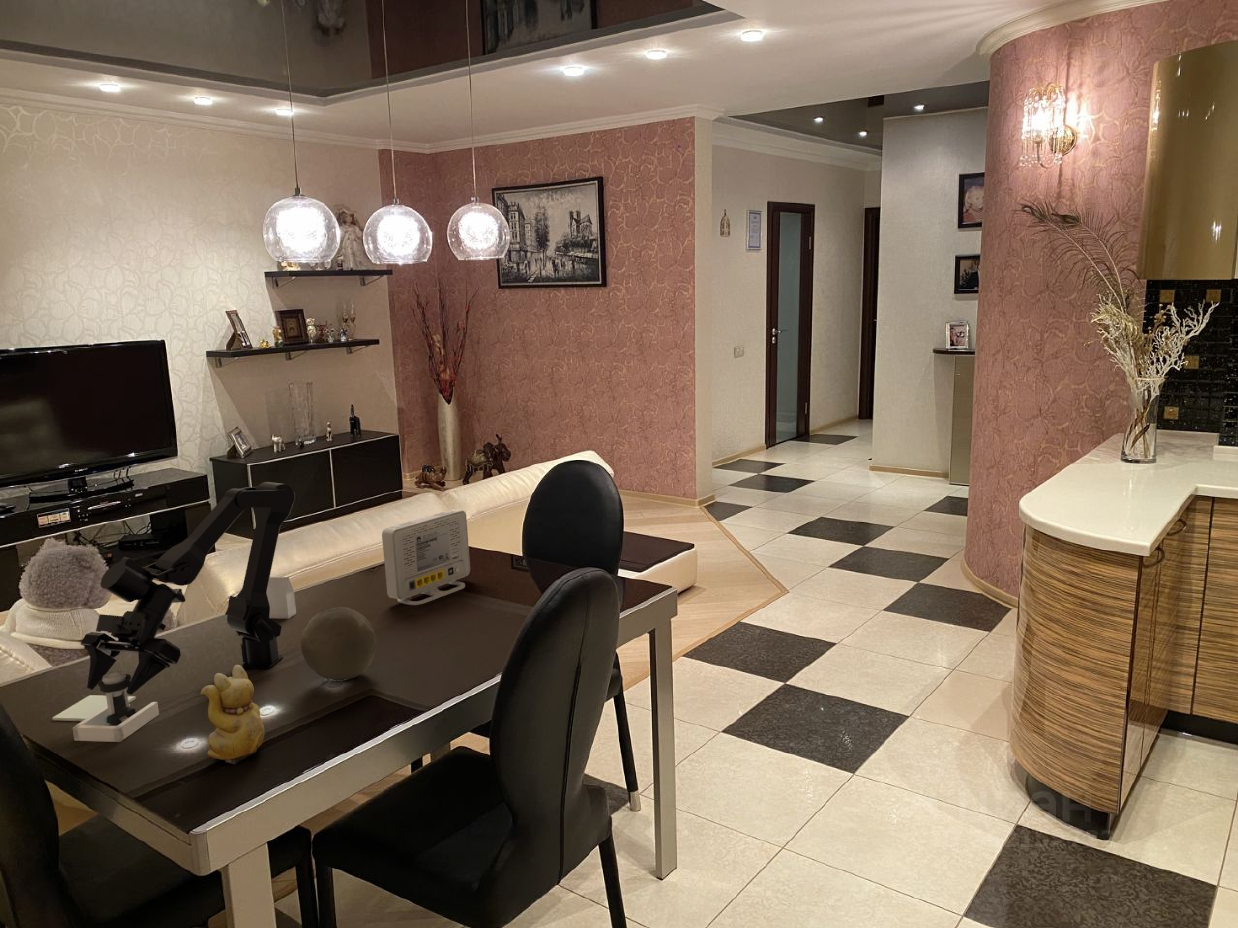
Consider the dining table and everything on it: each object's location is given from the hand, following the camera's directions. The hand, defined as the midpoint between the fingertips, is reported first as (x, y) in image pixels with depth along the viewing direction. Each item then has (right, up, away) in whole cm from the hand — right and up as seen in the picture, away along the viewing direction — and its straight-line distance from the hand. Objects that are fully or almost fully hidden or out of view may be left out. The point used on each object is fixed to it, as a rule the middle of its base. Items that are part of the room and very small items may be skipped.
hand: (108, 691), depth 167 cm
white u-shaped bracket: (+1, -7, +2) cm, 7 cm away
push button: (+1, -7, +2) cm, 8 cm away
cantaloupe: (+37, -3, +19) cm, 42 cm away
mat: (-8, -6, +10) cm, 14 cm away
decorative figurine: (+29, -8, -11) cm, 32 cm away
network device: (+44, +7, +74) cm, 86 cm away
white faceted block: (+9, +4, +61) cm, 62 cm away
